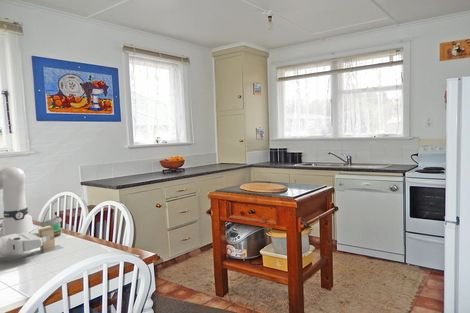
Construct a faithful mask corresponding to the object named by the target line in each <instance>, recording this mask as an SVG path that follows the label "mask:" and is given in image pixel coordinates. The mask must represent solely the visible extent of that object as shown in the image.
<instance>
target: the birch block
mask: <svg viewBox="0 0 470 313" xmlns="http://www.w3.org/2000/svg"><path fill="white" fill-rule="evenodd" d="M37 229H38V230H37V233H39V237H40V238H41V237H45V236H50V240H46V241H45V242H42V244H43V245H42V246H41V247H40V249H39V250H41V251H42V252H48V251H51V250H55V244H56V242H55V241H56V240H55V238H54V231H53V227H51V226H45V227H42V226H41V227H38V228H37ZM55 251H56V250H55ZM51 252H52V251H51ZM48 253H49V252H48Z"/></svg>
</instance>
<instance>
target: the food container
mask: <svg viewBox="0 0 470 313" xmlns="http://www.w3.org/2000/svg"><path fill="white" fill-rule="evenodd" d="M62 221H63V220H62V218H61V216H59V215H56V216H55V218H51V219H48V220H46V221H41V222H40V226H41V227H45V226H51V227H53V231H54V239H55V238H58V237H60V236H61V230H62V228H61V222H62Z"/></svg>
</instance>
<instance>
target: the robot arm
mask: <svg viewBox="0 0 470 313" xmlns="http://www.w3.org/2000/svg"><path fill="white" fill-rule="evenodd" d="M0 191H2V204H3V219H2V222H1V223H0V258H1V257H7V256H12V255H22V254H24V252H30V251H29V250H33V249H36V248H39V247H41V246H42V245H43V244H42V242H45V241H46V240H50V236H45V237H41V238H40V237H39V232H34V233H31V232H33V231H35V230H36V229H37V227H36V226H34V222H33V219H32V218H33V217H32V215H30V214H29V209H28V206H27V199H26V198H27V197H26V174H25V172H24V170H23V169H21V168H20V167H15V166H9V165H8V166H5V167H2V168H0Z"/></svg>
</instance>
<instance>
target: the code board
mask: <svg viewBox="0 0 470 313" xmlns="http://www.w3.org/2000/svg"><path fill="white" fill-rule="evenodd" d="M61 249H65V247H64V246H62V245H59V244H57V243H55V250H51V251H48V252H42V251H41V250H40V247H39V248H36V249H33V250H29V251H28V252H31V253H33V254H34V255H36V256H40V255H44V254H47V253H50V252H54V251H59V250H61Z"/></svg>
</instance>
